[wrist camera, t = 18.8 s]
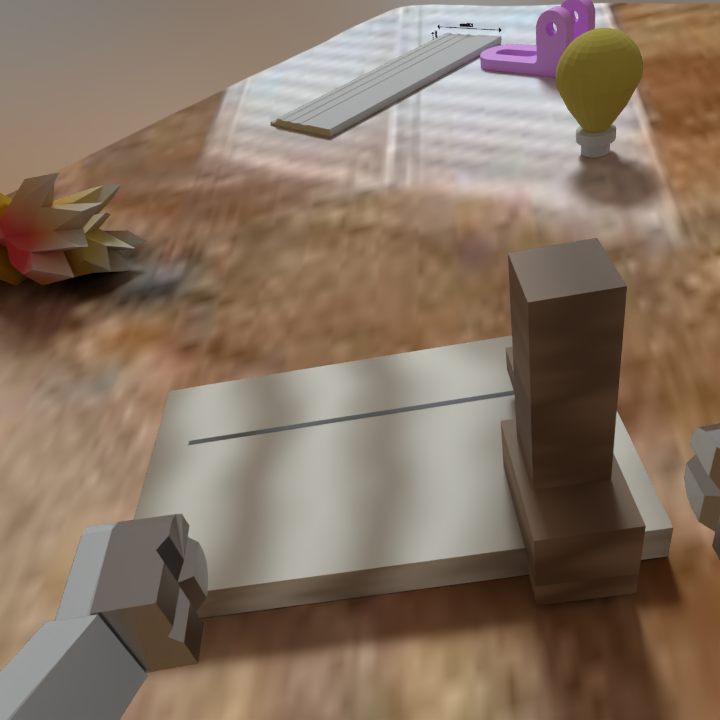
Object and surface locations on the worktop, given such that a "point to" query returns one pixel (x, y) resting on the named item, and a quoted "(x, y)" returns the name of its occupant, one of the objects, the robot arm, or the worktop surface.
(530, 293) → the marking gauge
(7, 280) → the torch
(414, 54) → the baseboard molding
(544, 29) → the bracket
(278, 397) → the birch board
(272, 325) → the worktop surface
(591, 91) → the light bulb
